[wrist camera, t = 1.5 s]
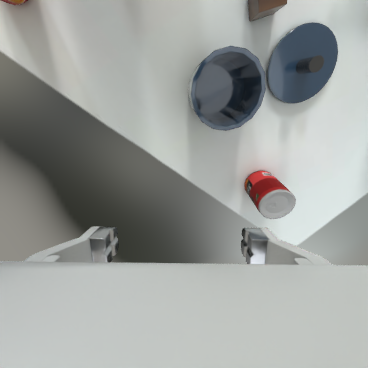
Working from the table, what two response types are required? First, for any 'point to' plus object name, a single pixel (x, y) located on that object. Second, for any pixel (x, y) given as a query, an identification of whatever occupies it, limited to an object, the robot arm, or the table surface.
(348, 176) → the table surface
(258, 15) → the block
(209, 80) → the pot
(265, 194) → the canned food
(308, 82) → the lid
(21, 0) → the smoothie
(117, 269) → the robot arm
